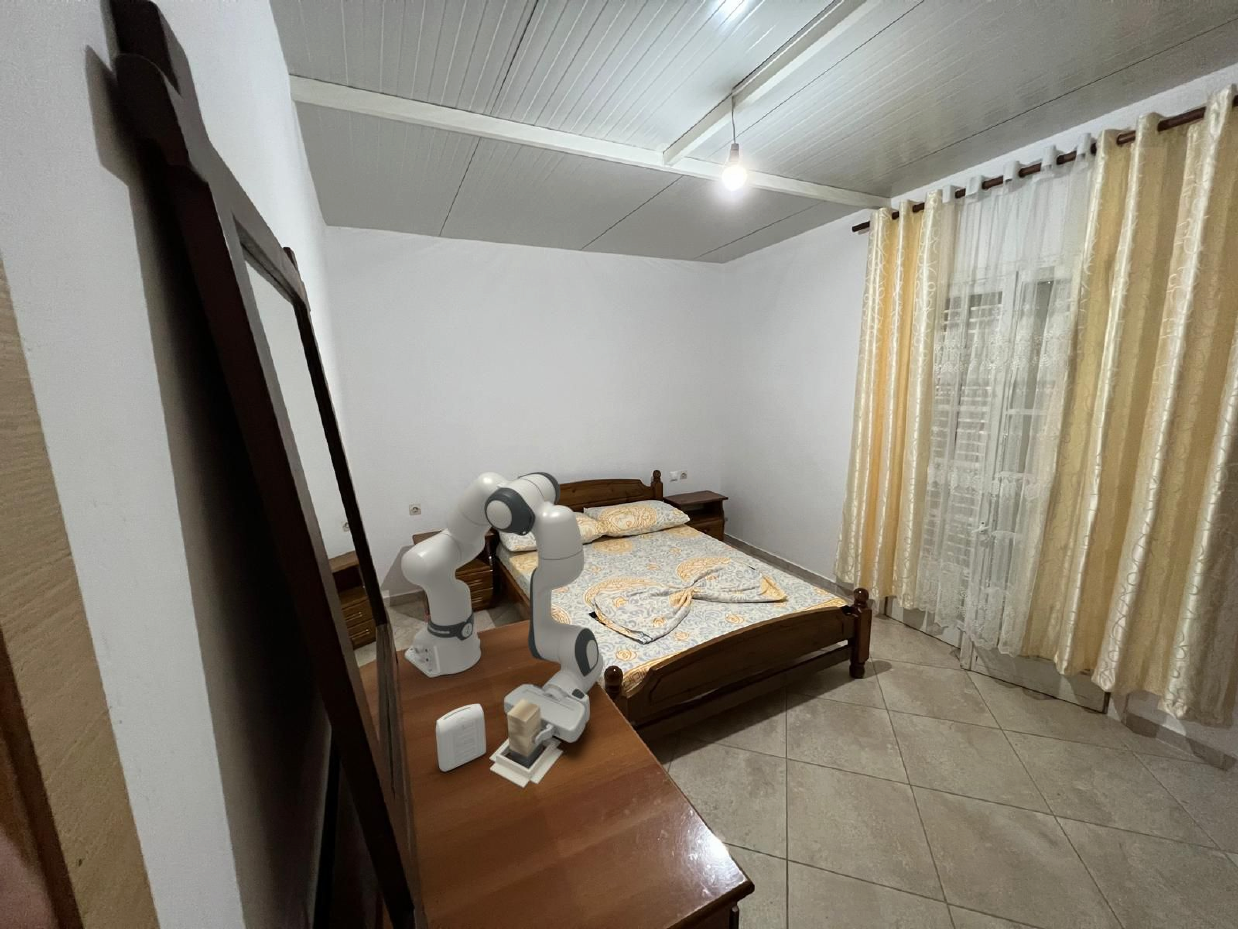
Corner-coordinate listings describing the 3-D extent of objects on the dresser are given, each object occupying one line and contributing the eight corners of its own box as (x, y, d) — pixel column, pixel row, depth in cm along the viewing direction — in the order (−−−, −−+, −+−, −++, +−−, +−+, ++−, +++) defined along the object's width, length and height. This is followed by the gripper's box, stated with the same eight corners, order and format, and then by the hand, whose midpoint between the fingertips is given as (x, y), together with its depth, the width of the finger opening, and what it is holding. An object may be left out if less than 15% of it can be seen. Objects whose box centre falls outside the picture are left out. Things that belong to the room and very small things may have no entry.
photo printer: (483, 740, 109) (479, 695, 106) (489, 753, 106) (485, 707, 103) (437, 761, 104) (431, 714, 101) (441, 776, 100) (436, 727, 97)
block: (510, 759, 104) (507, 713, 101) (524, 743, 108) (522, 699, 106) (528, 769, 102) (525, 722, 99) (542, 752, 106) (540, 706, 103)
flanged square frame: (483, 766, 103) (482, 758, 102) (522, 724, 114) (521, 717, 113) (531, 792, 97) (530, 784, 96) (567, 745, 108) (567, 738, 107)
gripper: (525, 671, 119) (485, 707, 107) (594, 699, 109) (560, 741, 98) (526, 692, 120) (487, 730, 109) (595, 722, 111) (560, 766, 99)
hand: (522, 736), depth 103 cm, fingers closed on block, 5 cm apart
